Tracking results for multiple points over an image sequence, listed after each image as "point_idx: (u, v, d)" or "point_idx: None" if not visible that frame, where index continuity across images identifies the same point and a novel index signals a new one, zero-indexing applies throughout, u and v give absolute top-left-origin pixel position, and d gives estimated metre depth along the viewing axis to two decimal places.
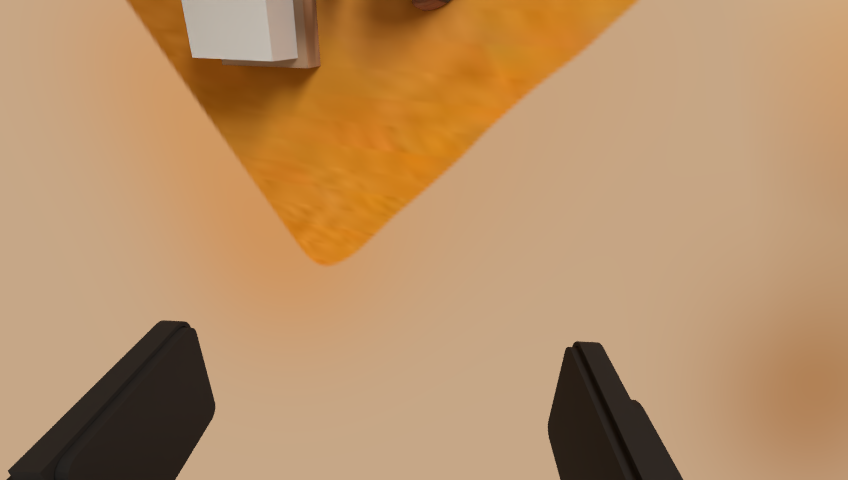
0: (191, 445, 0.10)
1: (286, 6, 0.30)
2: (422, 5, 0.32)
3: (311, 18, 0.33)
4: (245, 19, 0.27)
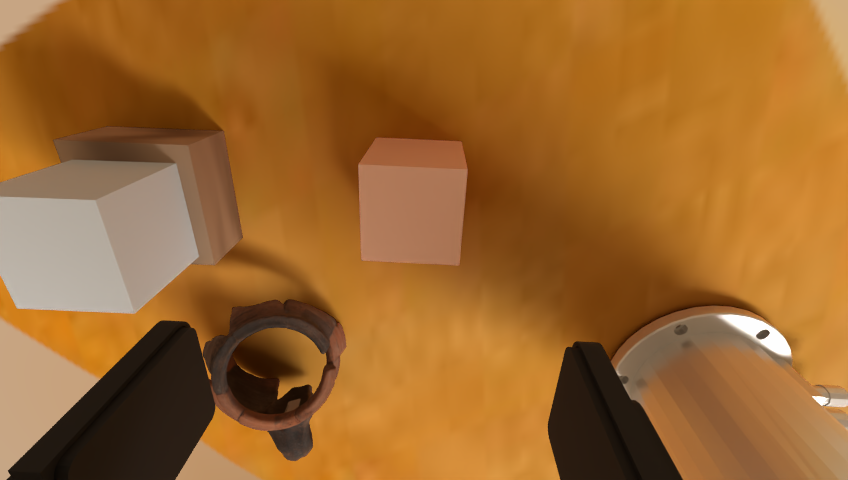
0: (191, 445, 0.10)
1: None
2: None
3: None
4: (57, 283, 0.18)
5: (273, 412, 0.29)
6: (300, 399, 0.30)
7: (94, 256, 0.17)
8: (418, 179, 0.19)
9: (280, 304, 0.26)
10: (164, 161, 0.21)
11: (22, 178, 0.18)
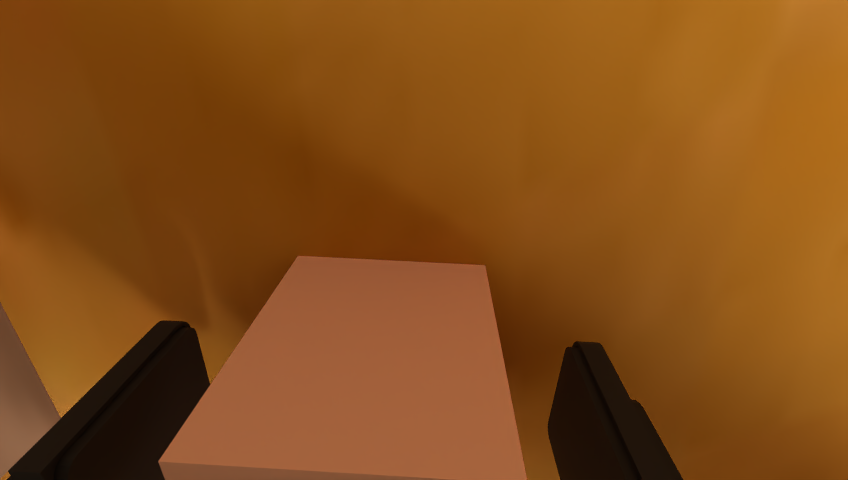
0: None
1: None
2: None
3: None
4: None
5: None
6: None
7: None
8: None
9: None
10: None
11: None
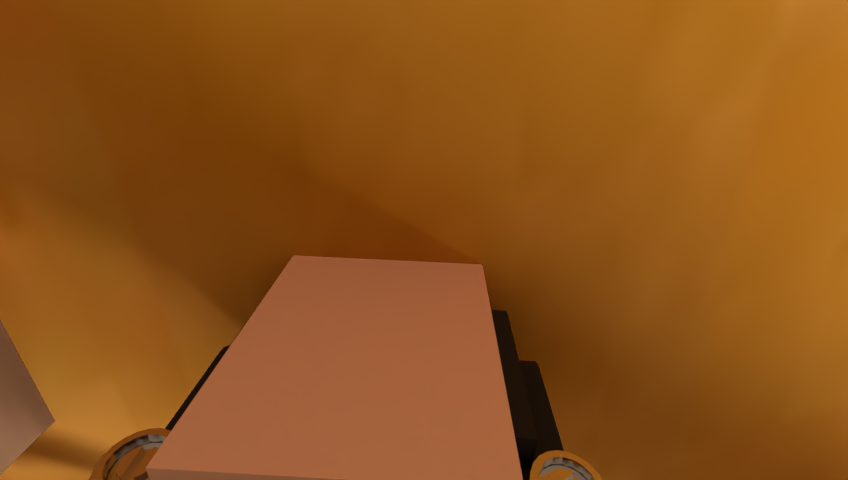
0: None
1: None
2: None
3: None
4: None
5: None
6: None
7: None
8: None
9: None
10: None
11: None
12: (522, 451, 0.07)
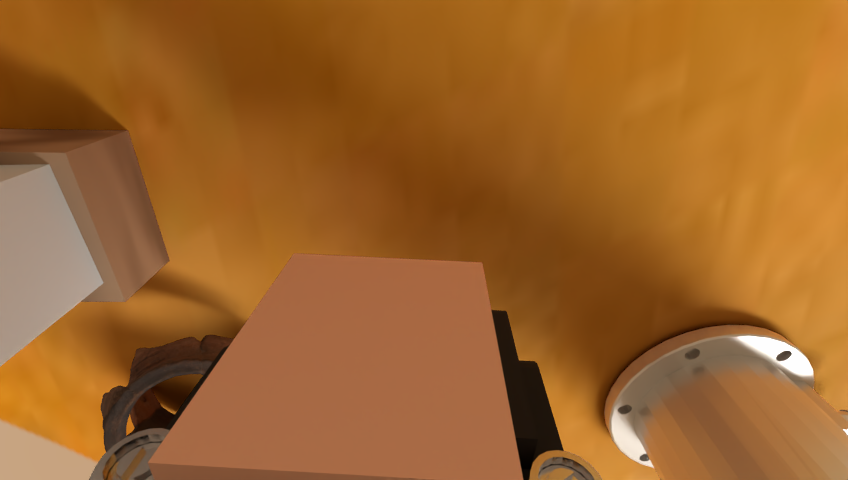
0: None
1: None
2: None
3: None
4: None
5: None
6: None
7: None
8: None
9: (196, 342, 0.22)
10: None
11: None
12: (522, 451, 0.07)
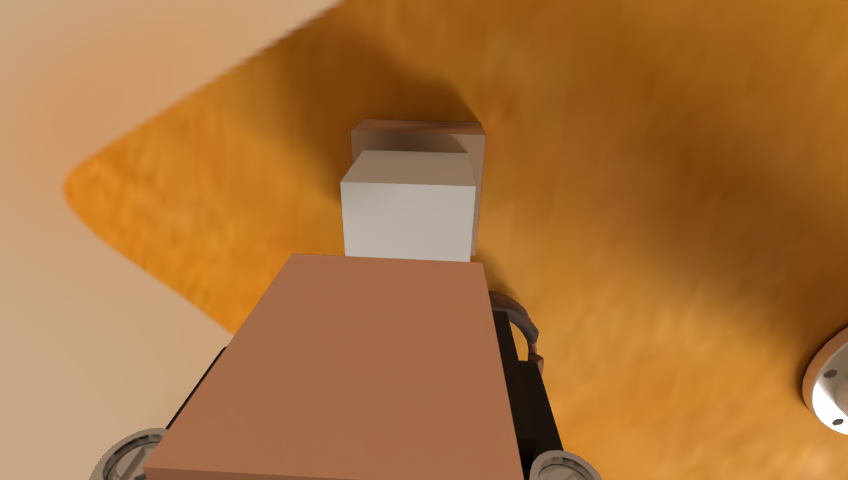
0: None
1: None
2: None
3: None
4: None
5: None
6: None
7: (450, 243, 0.18)
8: None
9: None
10: (456, 151, 0.21)
11: (360, 167, 0.19)
12: (522, 451, 0.07)
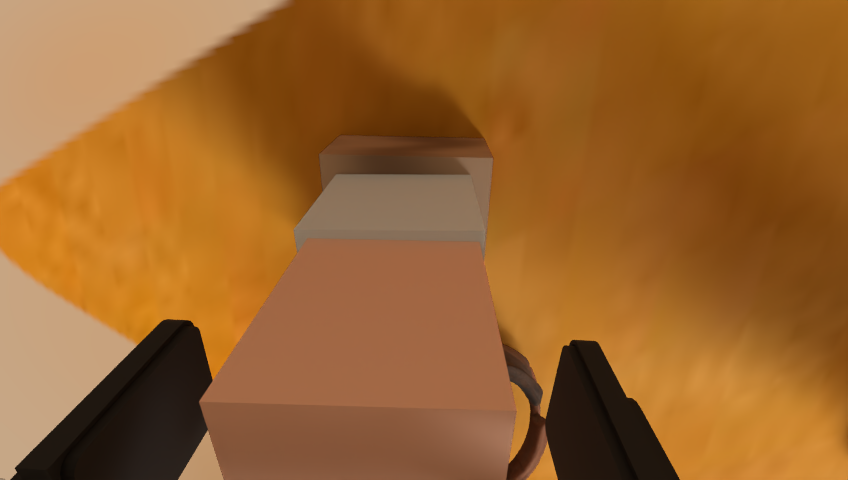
0: (194, 443, 0.10)
1: None
2: None
3: None
4: None
5: None
6: None
7: None
8: (375, 432, 0.07)
9: None
10: None
11: (326, 201, 0.14)
12: None
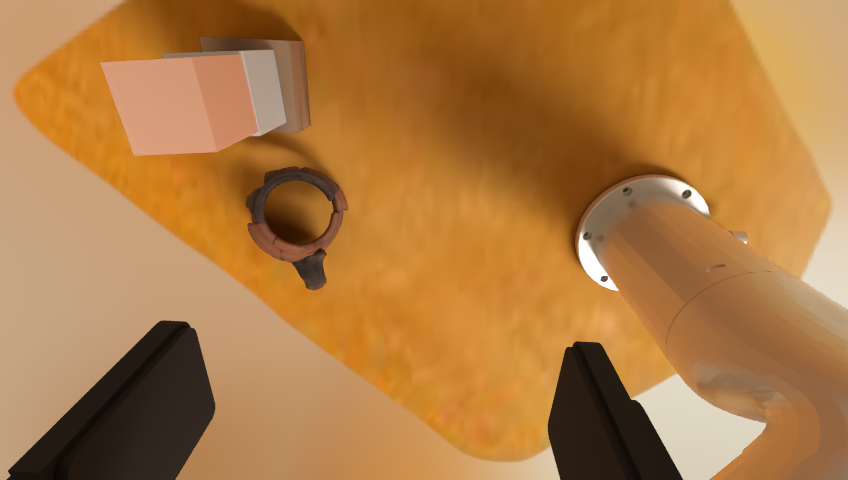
0: (191, 445, 0.10)
1: None
2: (252, 222, 0.40)
3: None
4: None
5: None
6: (316, 251, 0.41)
7: None
8: (154, 71, 0.22)
9: (299, 168, 0.37)
10: None
11: None
12: None
